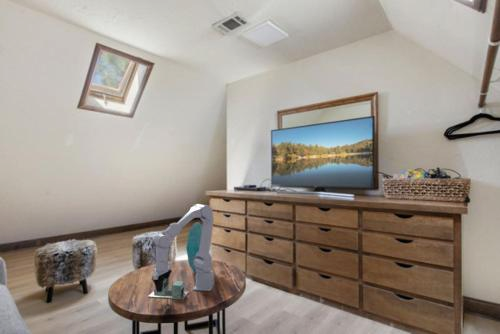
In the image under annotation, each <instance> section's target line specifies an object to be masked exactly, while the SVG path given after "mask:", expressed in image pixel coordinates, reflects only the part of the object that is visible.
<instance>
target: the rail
mask: <svg viewBox="0 0 500 334" xmlns="http://www.w3.org/2000/svg"><path fill="white" fill-rule="evenodd" d="M189 292H190V291H188V290H187V291H185V281H183V280H176V281H174V283H172V284H171V288H169V291H165V295H155V288H154V289H153V291H152V292H151V293H150V294H149V295H148V296H147V298H157V299H175V300H184V299H186V297H187V296H188V295H189Z"/></svg>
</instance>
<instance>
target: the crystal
mask: <svg viewBox="0 0 500 334" xmlns="http://www.w3.org/2000/svg"><path fill="white" fill-rule="evenodd" d="M202 226H203V225H202V224H201V223H200V222H194V223H193V224H192V227H191V228H190V230H189V231H188V235H187V241H186V246H185V247H186V248H185V249H186V254H187V259H188V260H187V262H188V265H189V267H190V268H191V269H192V271H193V272H194V273H196V270H195V267H194V265H193V261H194V259H195V257H196V254H197V253H198V252H199V247H200V240H201V233H202Z"/></svg>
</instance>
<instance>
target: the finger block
mask: <svg viewBox="0 0 500 334" xmlns="http://www.w3.org/2000/svg"><path fill="white" fill-rule="evenodd" d="M154 289H155V295H165V291H169V289H170V278H169V279H164V282H163V288H162V292H157V290H156V286H155V285H154Z"/></svg>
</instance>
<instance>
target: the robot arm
mask: <svg viewBox="0 0 500 334" xmlns="http://www.w3.org/2000/svg"><path fill="white" fill-rule="evenodd" d="M213 212H214V210H213V208H212V207H211V205H208V204H201V203H195V204H194V205H192V207H190V210H189V211H187V212H186V213H185V215H183V216H182V217H181V218H180V219H179V221H177V222H172V223H169V226H168V227H167V228H166V229H165V230H162V231H161V233H158V234H156V235H155V237H154V239H153V244H154V245H155V268H153V269H152V270H153V272H154V273H153V274H152V277H151V279H152V281H153V284H154V287H155V286H156V290H157V292H162V288H163V282H164V279H169V280H170V276H171V274H172V271H173V270H172V269H171V263H169V259H170V258H169V252H170V251H169V247H170V245H171V243H172V241H173V240H174V238H176V237H177V236H178V235H179V234H180V233H181V232H182V231H183V230H182V228H184V227H185V226H186V225H187V224H188V223H190V222H191V221H192V220H194V219H195V218H196V219H197V218H198V219H200V220H201V221H202V225H201V226H202V233H201V240H200V247H199V252H198V253H197V254H196V257H195V259H194V261H193V265H194V267H195V270H196V272H195V286H194V287H193V288H192V291H203V292H204V291H205V292H210V291H212V290H213V288H214V286H215V271H214V270H212V268H213V261H212V260H213V259H212V258H213V257H212V255H211V253H210V249H211V242H212V235H213V227H214V221H215V219H214V215H213Z"/></svg>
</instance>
